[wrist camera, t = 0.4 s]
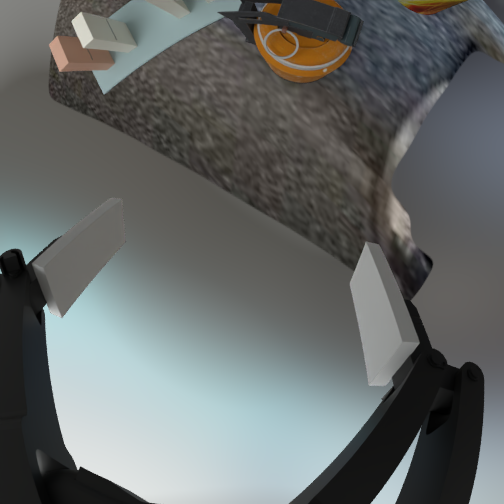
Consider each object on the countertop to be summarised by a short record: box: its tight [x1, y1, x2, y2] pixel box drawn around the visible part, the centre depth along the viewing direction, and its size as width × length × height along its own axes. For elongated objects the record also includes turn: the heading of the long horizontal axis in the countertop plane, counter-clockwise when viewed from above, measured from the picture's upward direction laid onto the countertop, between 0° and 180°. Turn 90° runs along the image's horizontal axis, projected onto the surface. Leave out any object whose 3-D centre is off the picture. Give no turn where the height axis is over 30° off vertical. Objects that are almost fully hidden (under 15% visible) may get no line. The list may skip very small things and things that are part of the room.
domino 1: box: [71, 12, 137, 53], centre depth 24 cm, size 2×5×11 cm, turn 26°
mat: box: [92, 0, 242, 94], centre depth 28 cm, size 25×12×1 cm, turn 115°
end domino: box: [49, 36, 115, 72], centre depth 26 cm, size 2×5×11 cm, turn 25°
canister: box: [217, 0, 364, 83], centre depth 21 cm, size 9×11×20 cm
